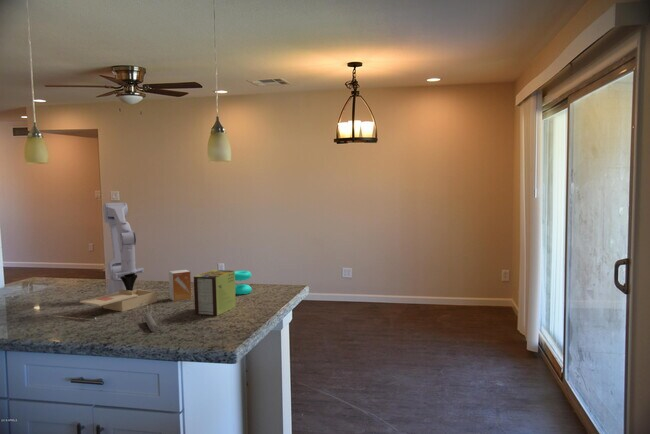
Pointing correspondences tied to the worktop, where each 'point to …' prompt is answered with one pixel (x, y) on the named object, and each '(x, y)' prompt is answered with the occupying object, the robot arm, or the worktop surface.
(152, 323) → the kitchen whisk
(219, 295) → the protein box
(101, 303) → the lid
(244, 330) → the worktop surface
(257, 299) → the worktop surface
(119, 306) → the wooden box
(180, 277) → the small box
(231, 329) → the worktop surface
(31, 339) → the worktop surface
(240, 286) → the donuts
